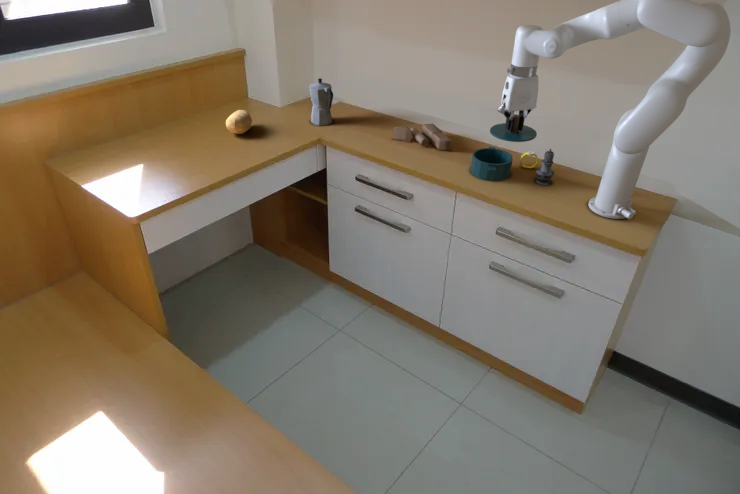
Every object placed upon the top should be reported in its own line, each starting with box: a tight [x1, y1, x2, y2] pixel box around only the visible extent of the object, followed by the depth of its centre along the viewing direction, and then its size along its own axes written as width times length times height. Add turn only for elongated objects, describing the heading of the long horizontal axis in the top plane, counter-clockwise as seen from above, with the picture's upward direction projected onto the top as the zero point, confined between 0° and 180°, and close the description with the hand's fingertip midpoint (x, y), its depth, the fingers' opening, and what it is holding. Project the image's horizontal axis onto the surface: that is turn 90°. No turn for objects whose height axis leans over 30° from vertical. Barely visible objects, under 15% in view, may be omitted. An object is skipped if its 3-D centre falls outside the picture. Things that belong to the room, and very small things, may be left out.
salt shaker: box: [534, 148, 555, 186], centre depth 170 cm, size 6×6×12 cm
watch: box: [519, 150, 539, 170], centre depth 181 cm, size 6×3×6 cm, turn 78°
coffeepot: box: [308, 77, 334, 127], centre depth 210 cm, size 15×9×18 cm, turn 37°
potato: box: [225, 109, 253, 135], centre depth 203 cm, size 10×14×8 cm
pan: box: [470, 146, 514, 182], centre depth 177 cm, size 13×19×6 cm
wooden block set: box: [392, 123, 452, 151], centre depth 196 cm, size 17×6×18 cm
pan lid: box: [489, 114, 538, 143], centre depth 161 cm, size 14×14×6 cm
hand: (513, 129), depth 162 cm, fingers closed on pan lid, 2 cm apart
